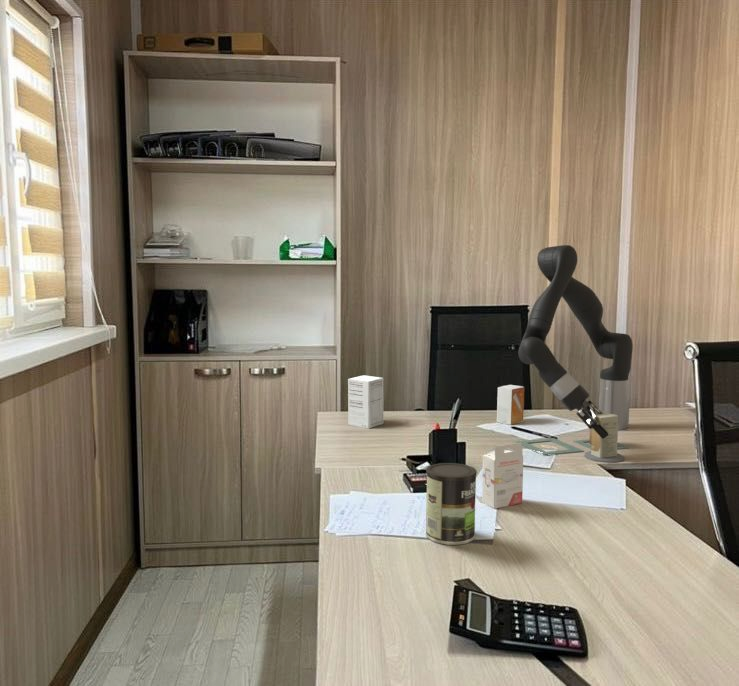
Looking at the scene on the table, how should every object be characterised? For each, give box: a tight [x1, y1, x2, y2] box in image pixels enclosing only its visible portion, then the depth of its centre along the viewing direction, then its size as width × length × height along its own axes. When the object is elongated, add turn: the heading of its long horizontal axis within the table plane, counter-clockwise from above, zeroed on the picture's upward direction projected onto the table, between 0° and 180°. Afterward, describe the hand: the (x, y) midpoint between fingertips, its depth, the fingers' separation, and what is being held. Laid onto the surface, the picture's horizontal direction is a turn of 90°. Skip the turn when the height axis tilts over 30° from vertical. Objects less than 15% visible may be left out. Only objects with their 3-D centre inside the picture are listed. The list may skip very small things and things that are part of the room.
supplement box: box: [347, 375, 384, 430], centre depth 237 cm, size 10×9×17 cm
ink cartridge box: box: [481, 442, 524, 509], centre depth 158 cm, size 9×5×15 cm, turn 118°
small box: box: [496, 384, 525, 426], centre depth 242 cm, size 8×6×13 cm
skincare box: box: [590, 413, 619, 458], centre depth 197 cm, size 6×4×12 cm
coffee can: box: [425, 462, 477, 546], centre depth 139 cm, size 10×10×14 cm
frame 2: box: [572, 438, 631, 451], centre depth 211 cm, size 12×12×1 cm
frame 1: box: [515, 437, 585, 456], centre depth 209 cm, size 14×16×1 cm
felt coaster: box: [584, 450, 625, 464], centre depth 198 cm, size 11×11×1 cm
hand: (608, 433), depth 196 cm, fingers open, 8 cm apart
